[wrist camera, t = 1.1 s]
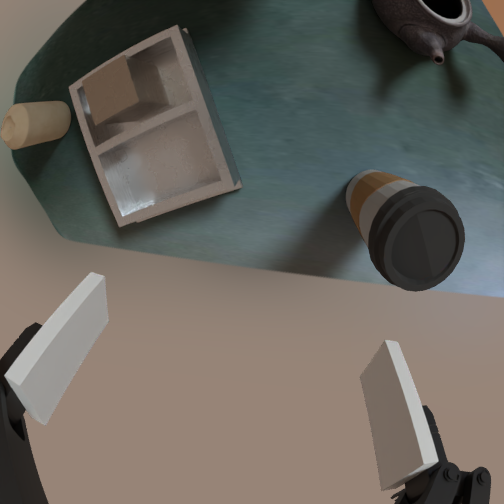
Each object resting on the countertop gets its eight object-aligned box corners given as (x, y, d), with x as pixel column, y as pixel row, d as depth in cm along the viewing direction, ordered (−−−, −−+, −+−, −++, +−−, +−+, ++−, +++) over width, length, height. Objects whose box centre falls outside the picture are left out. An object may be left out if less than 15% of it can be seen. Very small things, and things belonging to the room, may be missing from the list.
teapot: (357, 52, 25) (389, 29, 16) (370, -41, 18) (395, -77, 9) (483, 111, 25) (532, 118, 16) (489, 21, 18) (532, 11, 9)
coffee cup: (352, 239, 34) (392, 313, 21) (324, 178, 32) (360, 224, 18) (409, 211, 32) (475, 268, 19) (386, 149, 29) (458, 175, 16)
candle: (56, 93, 28) (5, 96, 19) (78, 113, 30) (25, 119, 21) (39, 125, 30) (-10, 136, 21) (59, 146, 32) (9, 161, 23)
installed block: (120, 85, 27) (81, 81, 20) (157, 66, 26) (124, 54, 19) (132, 121, 29) (95, 125, 22) (170, 103, 28) (139, 101, 21)
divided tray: (89, 82, 28) (66, 80, 23) (188, 30, 25) (174, 17, 20) (140, 220, 35) (122, 235, 31) (243, 185, 33) (237, 196, 28)
